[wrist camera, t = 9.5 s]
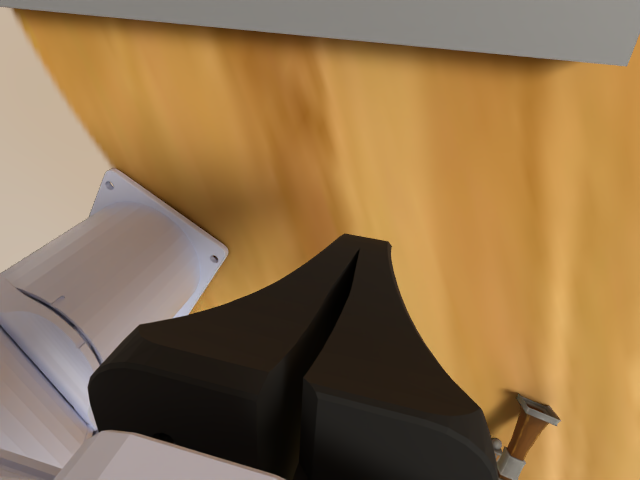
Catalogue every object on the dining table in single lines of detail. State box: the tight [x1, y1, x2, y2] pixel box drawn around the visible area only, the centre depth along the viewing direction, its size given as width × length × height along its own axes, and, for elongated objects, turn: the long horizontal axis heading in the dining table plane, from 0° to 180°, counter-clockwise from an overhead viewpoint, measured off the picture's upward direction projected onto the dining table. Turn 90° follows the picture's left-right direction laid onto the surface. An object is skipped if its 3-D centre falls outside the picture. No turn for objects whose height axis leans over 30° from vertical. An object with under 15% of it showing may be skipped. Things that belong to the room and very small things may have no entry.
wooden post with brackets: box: [492, 393, 561, 480], centre depth 26 cm, size 2×8×4 cm, turn 163°
